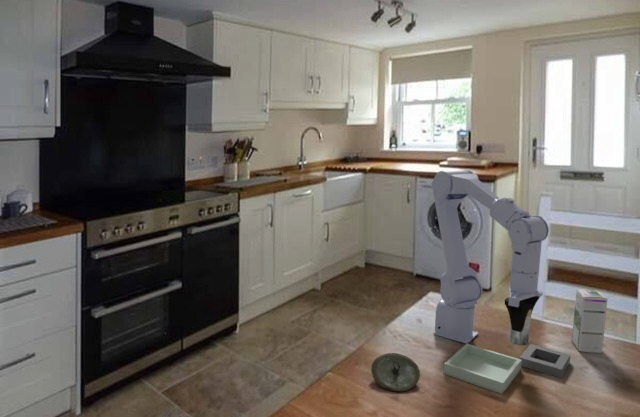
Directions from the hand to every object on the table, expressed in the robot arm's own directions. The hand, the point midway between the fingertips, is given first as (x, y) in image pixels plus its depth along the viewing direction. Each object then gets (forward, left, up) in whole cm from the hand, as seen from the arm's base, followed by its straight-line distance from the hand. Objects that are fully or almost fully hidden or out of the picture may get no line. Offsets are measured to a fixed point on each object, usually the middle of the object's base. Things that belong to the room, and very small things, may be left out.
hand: (519, 327), depth 110 cm
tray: (-5, -7, -10) cm, 13 cm away
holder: (+5, +6, -10) cm, 12 cm away
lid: (-19, -23, -10) cm, 31 cm away
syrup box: (+11, +22, -10) cm, 26 cm away
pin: (0, 0, -3) cm, 3 cm away
